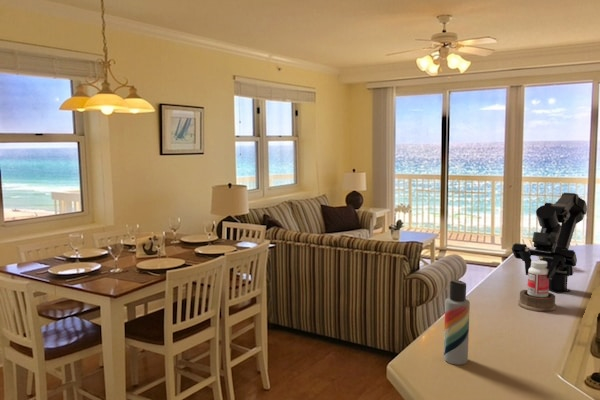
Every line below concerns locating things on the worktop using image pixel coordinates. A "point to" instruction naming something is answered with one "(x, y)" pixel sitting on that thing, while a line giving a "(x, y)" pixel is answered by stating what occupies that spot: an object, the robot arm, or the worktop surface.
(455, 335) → the lotion bottle
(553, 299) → the collar stand
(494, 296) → the worktop surface
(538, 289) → the pill bottle
